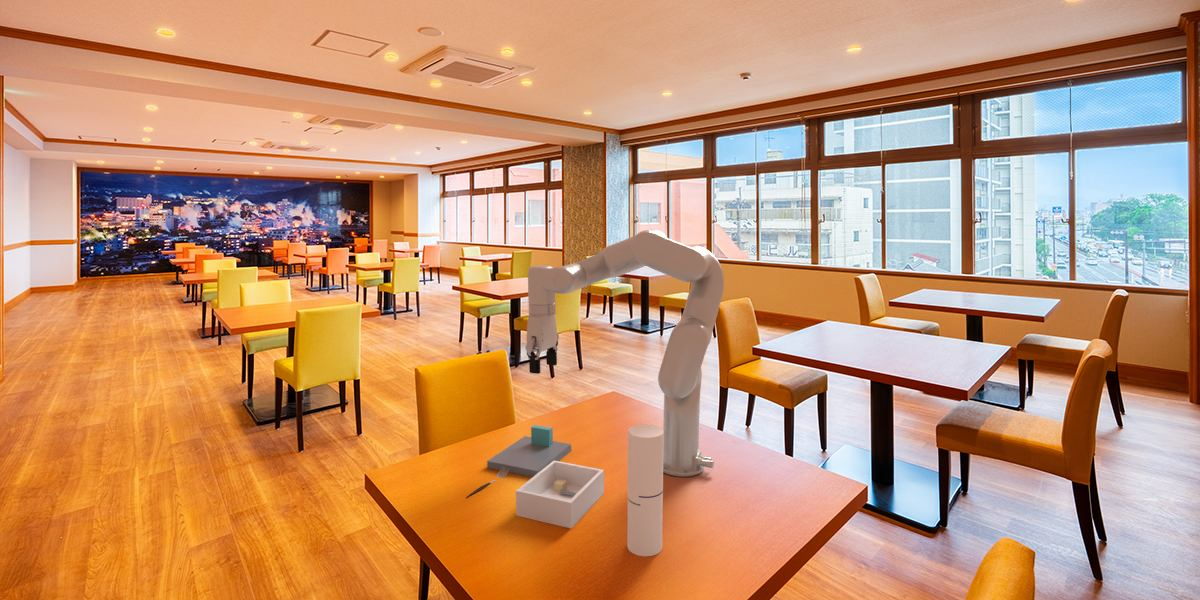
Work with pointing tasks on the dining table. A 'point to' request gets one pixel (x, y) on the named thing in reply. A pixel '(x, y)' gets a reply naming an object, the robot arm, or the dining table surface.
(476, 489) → the fork
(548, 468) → the tub
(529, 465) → the lid
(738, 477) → the dining table surface
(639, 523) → the cylindrical container
